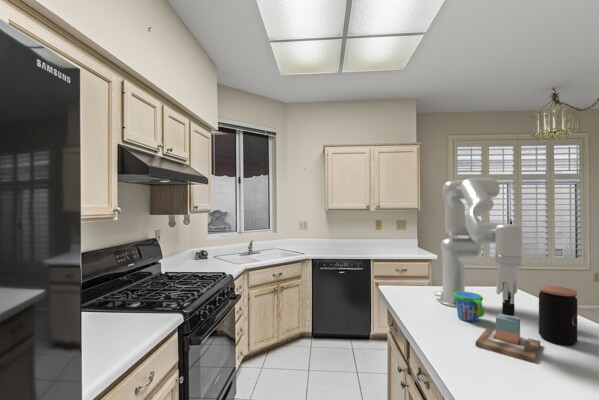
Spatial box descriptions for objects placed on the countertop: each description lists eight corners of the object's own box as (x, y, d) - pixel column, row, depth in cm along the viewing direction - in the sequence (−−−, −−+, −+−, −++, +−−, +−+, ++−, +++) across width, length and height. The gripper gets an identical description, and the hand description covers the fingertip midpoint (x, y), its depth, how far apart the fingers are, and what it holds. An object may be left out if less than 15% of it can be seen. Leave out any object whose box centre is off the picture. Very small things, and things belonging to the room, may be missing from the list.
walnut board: (475, 346, 106) (475, 338, 106) (486, 332, 118) (486, 325, 118) (534, 362, 95) (534, 354, 95) (540, 345, 107) (540, 338, 107)
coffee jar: (580, 349, 104) (580, 295, 104) (540, 341, 110) (540, 290, 110) (574, 338, 113) (574, 288, 113) (537, 331, 119) (537, 283, 119)
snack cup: (446, 312, 139) (446, 289, 139) (469, 312, 139) (469, 289, 139) (466, 326, 123) (466, 300, 123) (492, 326, 124) (492, 300, 124)
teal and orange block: (495, 341, 106) (495, 317, 106) (499, 335, 111) (499, 313, 111) (517, 346, 102) (517, 322, 102) (520, 341, 107) (520, 317, 107)
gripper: (500, 256, 115) (500, 307, 114) (490, 261, 104) (490, 317, 103) (525, 259, 110) (525, 312, 109) (518, 264, 99) (518, 323, 98)
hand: (508, 314), depth 106 cm, fingers closed
